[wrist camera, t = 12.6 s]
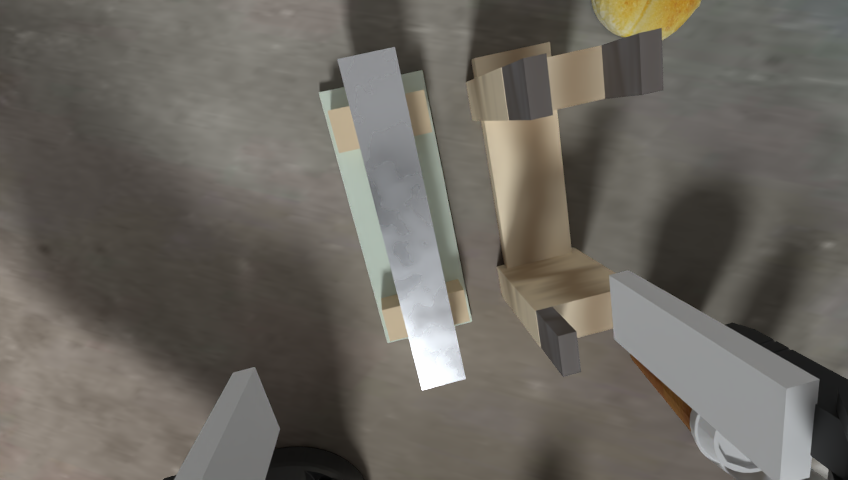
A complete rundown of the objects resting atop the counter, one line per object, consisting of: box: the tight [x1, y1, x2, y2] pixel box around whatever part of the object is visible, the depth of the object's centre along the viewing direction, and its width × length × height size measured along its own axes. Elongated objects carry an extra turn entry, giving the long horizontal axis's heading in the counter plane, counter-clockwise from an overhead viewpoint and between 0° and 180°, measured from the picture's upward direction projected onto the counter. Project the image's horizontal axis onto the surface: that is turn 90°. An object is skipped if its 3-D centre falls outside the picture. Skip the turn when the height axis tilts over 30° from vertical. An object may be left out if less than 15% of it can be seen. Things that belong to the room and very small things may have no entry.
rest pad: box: [319, 70, 472, 343], centre depth 33 cm, size 8×22×3 cm, turn 12°
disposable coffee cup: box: [630, 354, 762, 473], centre depth 35 cm, size 10×10×12 cm
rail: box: [337, 47, 466, 390], centre depth 29 cm, size 4×24×4 cm, turn 12°
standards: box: [466, 28, 663, 377], centre depth 29 cm, size 7×22×12 cm, turn 12°
